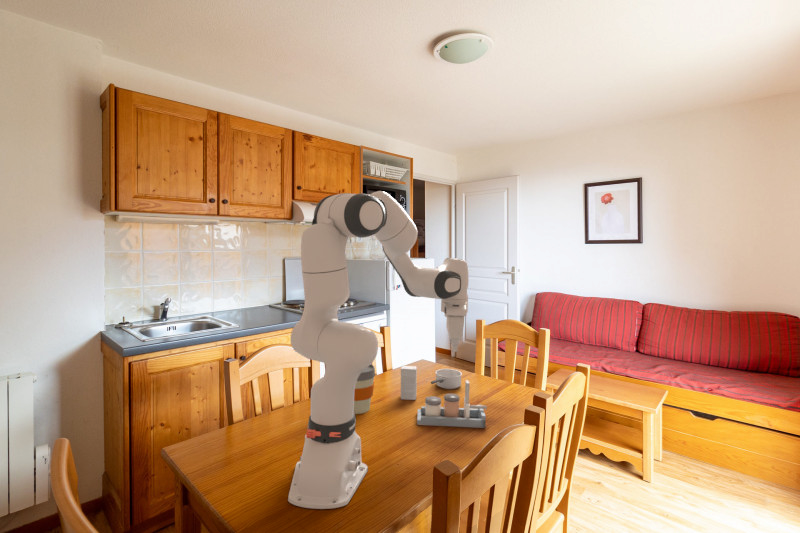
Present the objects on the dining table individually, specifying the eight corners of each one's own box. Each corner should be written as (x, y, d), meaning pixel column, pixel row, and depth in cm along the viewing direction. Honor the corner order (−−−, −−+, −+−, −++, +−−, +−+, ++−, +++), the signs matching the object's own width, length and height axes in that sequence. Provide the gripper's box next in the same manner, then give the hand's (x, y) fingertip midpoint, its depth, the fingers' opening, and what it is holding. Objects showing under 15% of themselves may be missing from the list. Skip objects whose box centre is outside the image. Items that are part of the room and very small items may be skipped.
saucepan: (419, 392, 154) (419, 379, 154) (442, 379, 170) (442, 366, 170) (444, 399, 147) (445, 385, 147) (466, 384, 164) (466, 372, 164)
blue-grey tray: (485, 427, 124) (485, 415, 124) (417, 424, 126) (417, 412, 125) (481, 416, 133) (481, 404, 133) (417, 413, 135) (417, 401, 134)
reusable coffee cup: (357, 419, 129) (358, 375, 128) (332, 409, 136) (332, 368, 135) (381, 407, 139) (382, 366, 138) (356, 398, 146) (357, 360, 145)
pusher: (487, 425, 126) (488, 385, 125) (465, 423, 126) (466, 384, 126) (484, 417, 132) (485, 379, 131) (463, 416, 132) (464, 378, 131)
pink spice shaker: (459, 424, 127) (460, 399, 126) (443, 423, 127) (444, 399, 126) (458, 417, 132) (458, 393, 131) (443, 416, 132) (443, 393, 132)
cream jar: (441, 423, 127) (441, 402, 127) (424, 422, 127) (425, 402, 127) (440, 416, 132) (440, 396, 132) (424, 415, 133) (425, 395, 132)
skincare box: (416, 396, 150) (417, 366, 150) (415, 400, 146) (416, 369, 145) (401, 395, 151) (401, 365, 150) (400, 399, 146) (400, 368, 146)
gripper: (443, 301, 138) (442, 339, 139) (446, 311, 118) (445, 355, 118) (460, 302, 138) (459, 340, 138) (467, 311, 117) (466, 356, 118)
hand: (453, 347), depth 128 cm, fingers open, 8 cm apart
